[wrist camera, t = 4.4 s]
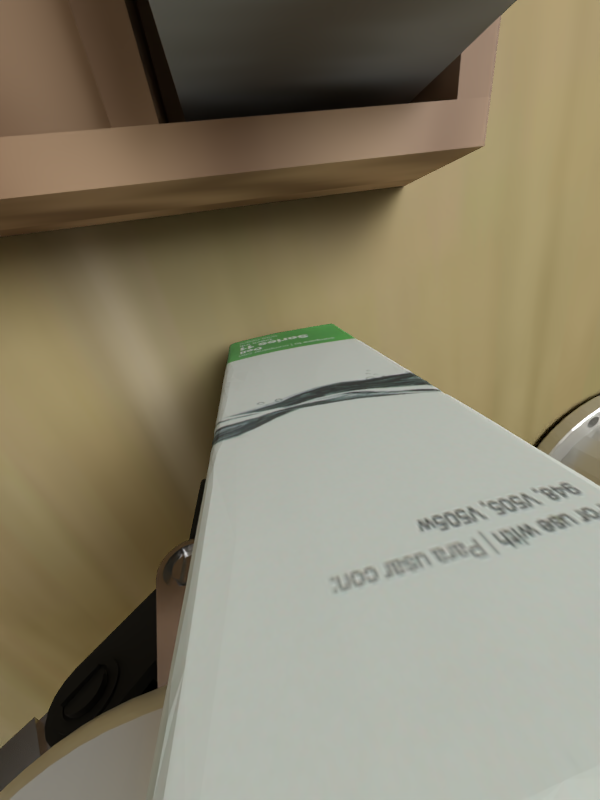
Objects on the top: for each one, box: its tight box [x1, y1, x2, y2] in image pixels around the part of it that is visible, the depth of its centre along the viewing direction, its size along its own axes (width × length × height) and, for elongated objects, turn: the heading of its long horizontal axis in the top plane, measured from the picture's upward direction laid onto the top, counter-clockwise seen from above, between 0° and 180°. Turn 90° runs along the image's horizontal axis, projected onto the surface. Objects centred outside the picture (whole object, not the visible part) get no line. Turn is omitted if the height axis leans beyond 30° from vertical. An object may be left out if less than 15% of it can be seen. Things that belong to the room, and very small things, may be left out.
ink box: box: [146, 324, 600, 800], centre depth 8 cm, size 9×5×12 cm, turn 8°
